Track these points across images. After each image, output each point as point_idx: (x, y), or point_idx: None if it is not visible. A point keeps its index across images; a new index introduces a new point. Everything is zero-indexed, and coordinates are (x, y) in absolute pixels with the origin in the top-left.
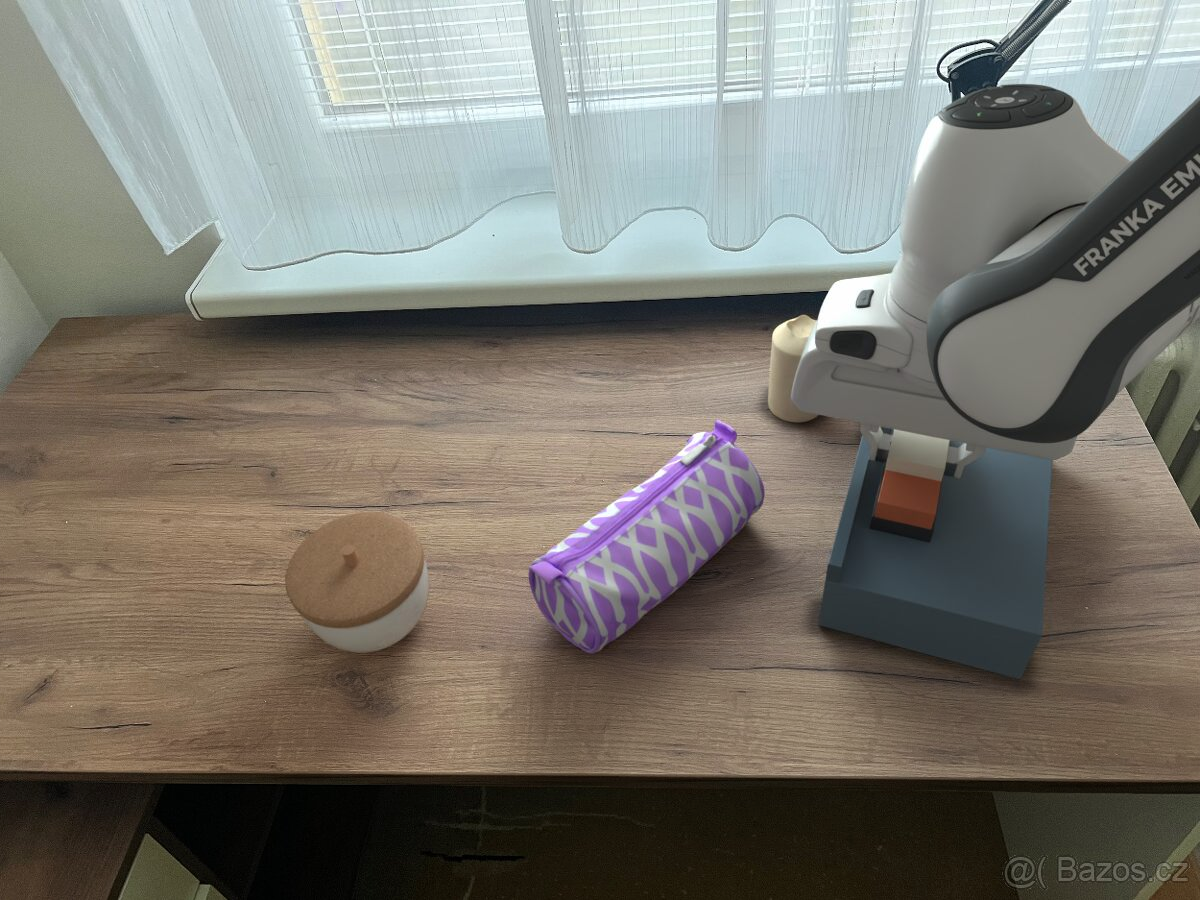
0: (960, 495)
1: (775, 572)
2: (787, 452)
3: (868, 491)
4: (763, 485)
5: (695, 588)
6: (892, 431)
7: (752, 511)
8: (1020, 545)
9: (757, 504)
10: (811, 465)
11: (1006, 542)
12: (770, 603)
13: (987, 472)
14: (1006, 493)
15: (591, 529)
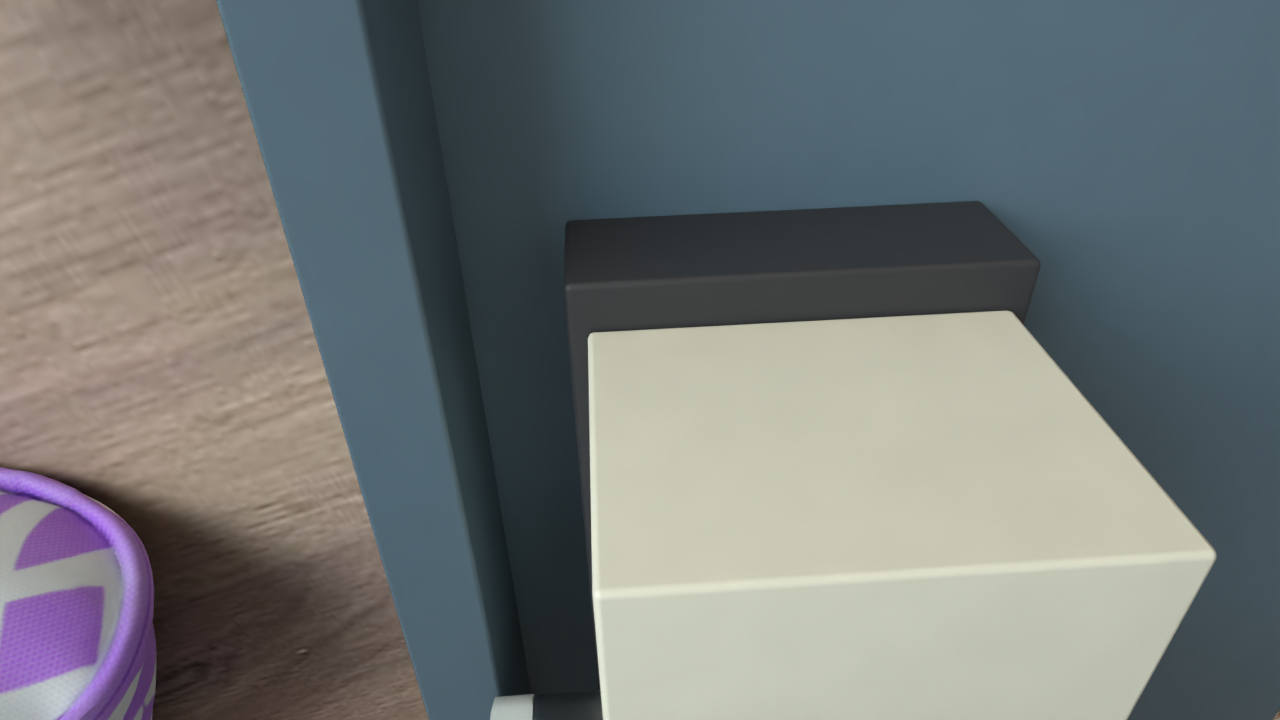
0: None
1: (356, 618)
2: (22, 70)
3: (558, 672)
4: (90, 708)
5: (176, 714)
6: (583, 453)
7: (142, 701)
8: (1198, 697)
9: (136, 685)
10: (199, 126)
11: (1145, 701)
12: (393, 689)
13: (1179, 403)
14: (1237, 506)
15: None
